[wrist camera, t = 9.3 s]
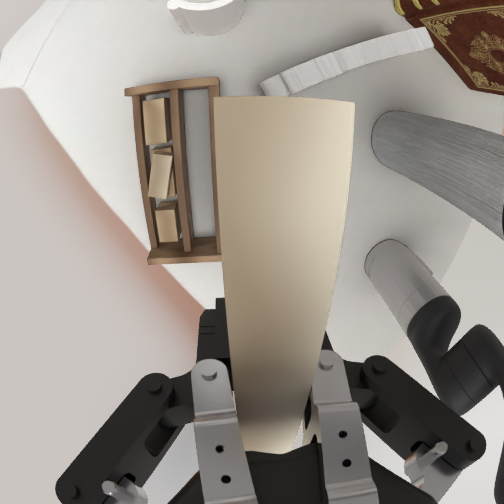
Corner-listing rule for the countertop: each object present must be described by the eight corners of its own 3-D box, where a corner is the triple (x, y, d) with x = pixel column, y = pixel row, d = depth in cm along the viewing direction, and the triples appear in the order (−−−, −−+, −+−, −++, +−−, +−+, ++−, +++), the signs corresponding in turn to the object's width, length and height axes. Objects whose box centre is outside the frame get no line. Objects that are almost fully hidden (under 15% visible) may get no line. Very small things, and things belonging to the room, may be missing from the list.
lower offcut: (174, 144, 38) (170, 147, 35) (178, 189, 41) (175, 196, 39) (156, 146, 38) (151, 150, 35) (160, 191, 41) (156, 197, 38)
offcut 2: (178, 200, 42) (174, 209, 38) (181, 229, 44) (178, 241, 41) (160, 201, 42) (155, 210, 38) (164, 230, 44) (159, 242, 41)
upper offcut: (174, 153, 36) (172, 156, 34) (168, 194, 38) (166, 199, 37) (156, 150, 35) (153, 153, 33) (151, 191, 38) (147, 196, 36)
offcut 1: (170, 98, 34) (163, 98, 30) (172, 138, 37) (166, 142, 33) (151, 101, 34) (142, 101, 30) (154, 140, 37) (146, 145, 33)
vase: (375, 173, 42) (495, 259, 19) (365, 114, 37) (506, 153, 14) (421, 163, 41) (541, 232, 18) (415, 107, 36) (551, 145, 13)
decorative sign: (266, 99, 37) (274, 104, 25) (258, 84, 36) (261, 81, 24) (395, 50, 31) (450, 44, 19) (388, 36, 30) (441, 23, 17)
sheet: (266, 102, 15) (354, 102, 4) (263, 335, 23) (284, 469, 13) (224, 103, 14) (213, 97, 4) (235, 337, 23) (244, 473, 13)
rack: (219, 81, 33) (218, 76, 28) (226, 241, 46) (226, 261, 41) (138, 90, 33) (124, 88, 28) (156, 245, 45) (148, 264, 40)
